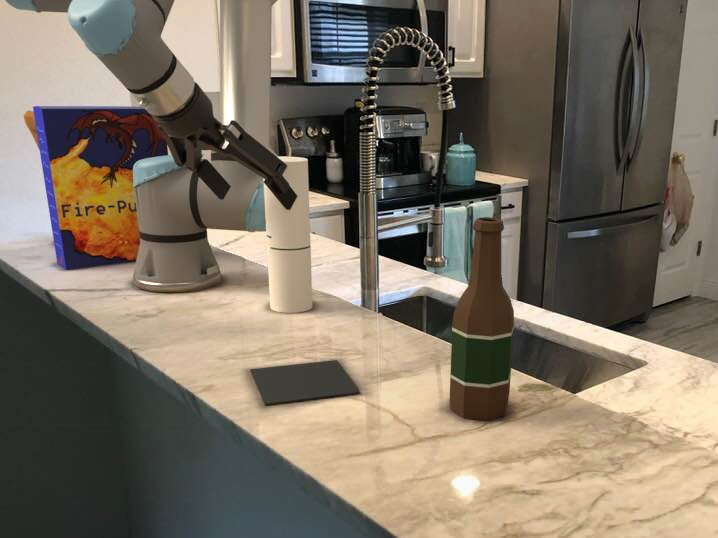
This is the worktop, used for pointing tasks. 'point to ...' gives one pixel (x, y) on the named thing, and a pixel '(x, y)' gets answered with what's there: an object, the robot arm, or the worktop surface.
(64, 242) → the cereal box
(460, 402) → the beer bottle
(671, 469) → the worktop surface
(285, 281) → the cylindrical container
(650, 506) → the worktop surface
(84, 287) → the worktop surface
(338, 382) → the mat
